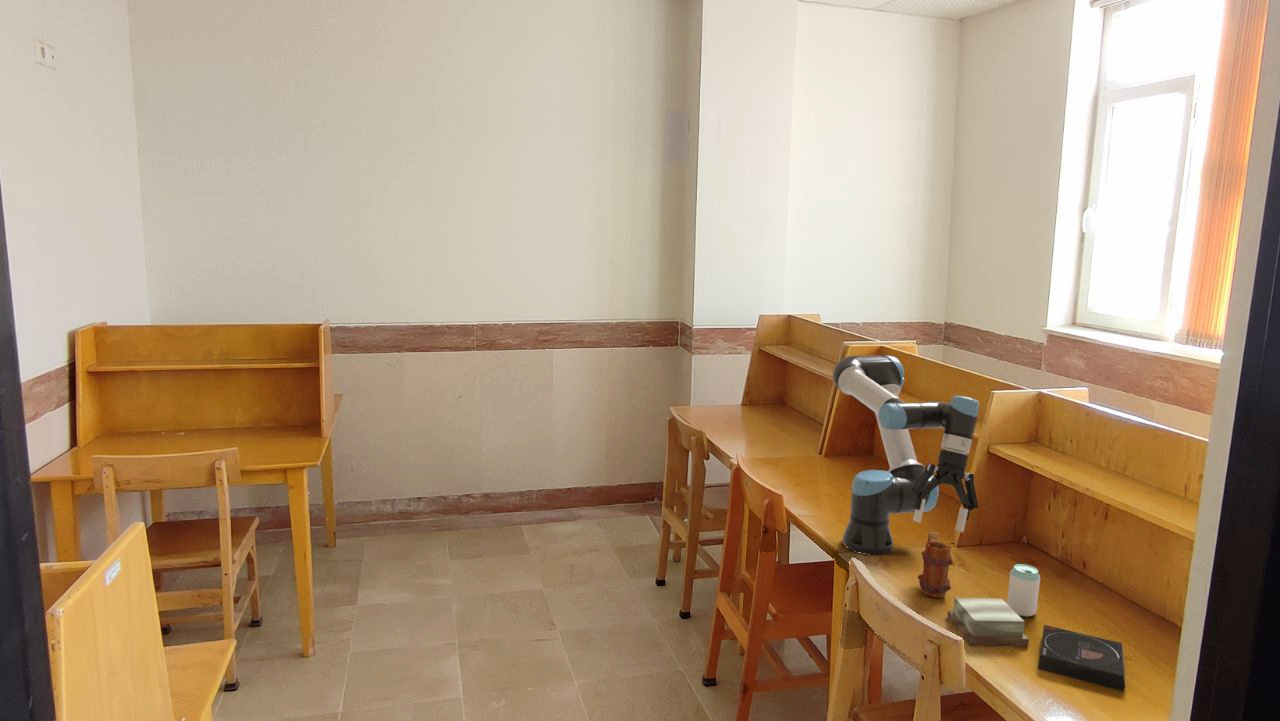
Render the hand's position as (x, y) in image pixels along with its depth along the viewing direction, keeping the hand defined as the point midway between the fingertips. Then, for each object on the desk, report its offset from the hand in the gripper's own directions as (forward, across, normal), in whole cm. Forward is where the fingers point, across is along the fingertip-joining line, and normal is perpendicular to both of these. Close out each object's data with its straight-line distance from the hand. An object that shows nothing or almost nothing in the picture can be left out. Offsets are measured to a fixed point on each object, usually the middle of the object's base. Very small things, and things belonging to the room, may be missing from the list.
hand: (938, 526), depth 227 cm
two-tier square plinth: (+21, +2, -25) cm, 32 cm away
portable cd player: (+21, +16, -41) cm, 49 cm away
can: (+16, +18, -17) cm, 29 cm away
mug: (+17, +1, -2) cm, 17 cm away
